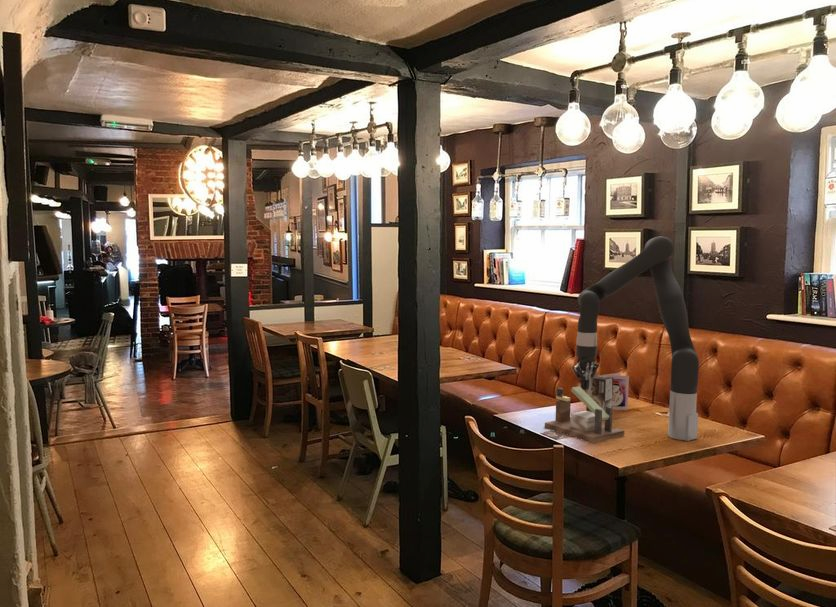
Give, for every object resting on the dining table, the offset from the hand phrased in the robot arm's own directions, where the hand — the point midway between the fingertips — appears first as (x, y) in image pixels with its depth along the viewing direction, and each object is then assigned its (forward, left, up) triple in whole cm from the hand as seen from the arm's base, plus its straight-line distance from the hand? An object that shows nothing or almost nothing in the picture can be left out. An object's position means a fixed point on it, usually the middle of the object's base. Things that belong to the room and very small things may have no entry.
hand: (585, 389), depth 251 cm
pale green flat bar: (-2, 0, -5) cm, 6 cm away
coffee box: (+13, -25, -17) cm, 33 cm away
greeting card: (+17, -39, -17) cm, 46 cm away
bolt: (+11, 0, -6) cm, 12 cm away
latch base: (0, 0, -16) cm, 16 cm away
